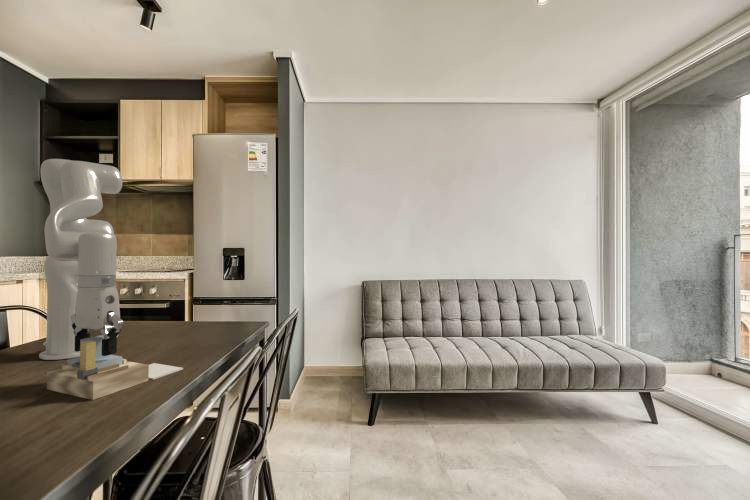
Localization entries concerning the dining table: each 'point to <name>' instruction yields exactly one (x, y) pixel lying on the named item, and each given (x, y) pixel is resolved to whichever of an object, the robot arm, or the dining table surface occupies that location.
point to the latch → (86, 360)
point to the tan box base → (97, 379)
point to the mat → (161, 370)
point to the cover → (99, 354)
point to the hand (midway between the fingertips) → (95, 352)
